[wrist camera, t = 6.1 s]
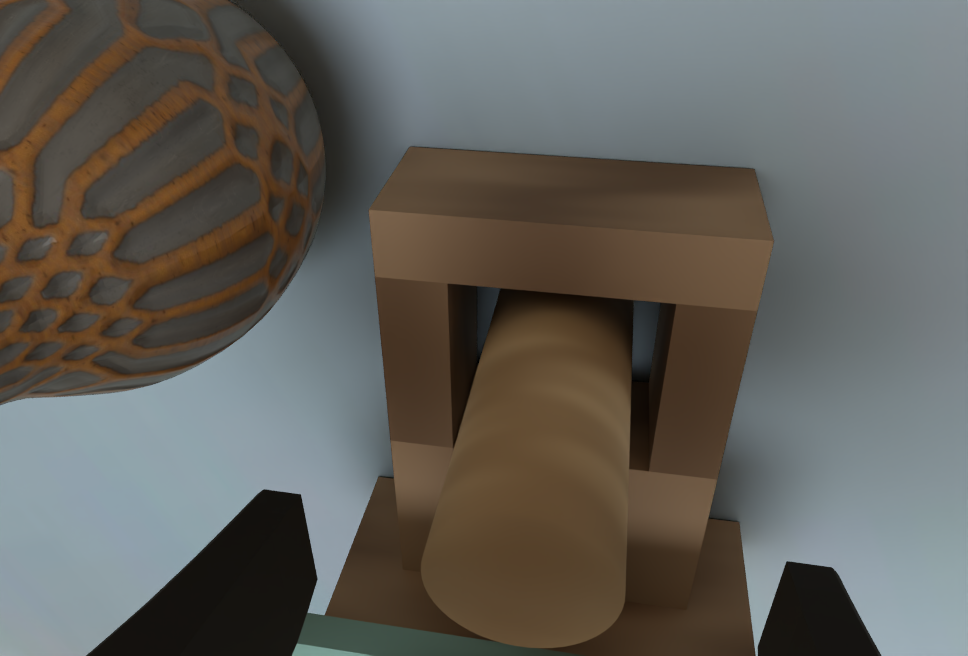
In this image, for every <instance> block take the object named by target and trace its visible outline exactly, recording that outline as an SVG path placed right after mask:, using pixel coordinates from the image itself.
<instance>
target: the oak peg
mask: <svg viewBox="0 0 968 656" xmlns="http://www.w3.org/2000/svg"><path fill="white" fill-rule="evenodd" d="M633 310H634V300H628V299H617V298H605V297H594V296H583V295H572V294H561V293H550V292H538V291H527V290H516V289H505V288H501V289H500V293H499V296H498V299H497V303H496V306H495V310H494V313H493V317H492V320H491V323H490V327H489V330H488V334H487V337H486V341H485V344H484V347H483V351H482V354H481V358H480V361H479V365H478V368H477V371H476V375H475V378H474V382H473V385H472V389H471V392H470V395H469V399H468V402H467V406H466V409H465V413H464V416H463V420H462V423H461V426H460V430H459V433H458V437H457V440H456V444H455V447H454V450H453V454H452V457H451V461H450V464H449V468H448V471H447V474H446V478H445V481H444V485H443V488H442V492H441V495H440V498H439V502H438V505H437V509H436V512H435V516H434V519H433V522H432V526H431V529H430V533H429V536H428V540H427V543H426V546H425V550H424V553H423V557H422V560H421V576H422V581H423V584H424V587H425V589H426V591H427V593H428V595H429V596H430V598H431V599H432V600H433V602H434V603H435V604H436V605H437V607H438V608H439V609H440V610H441V611H442V612H443V613H445V614H446V615H447V616H448V617H449V618H450V619H452V620H453V621H455V622H456V623H457V624H459V625H461V626H462V627H464V628H466V629H468V630H469V631H471V632H474V633H476V634H478V635H480V636H482V637H485V638H488V639H490V640H494V641H497V642H500V643H504V644H509V645H514V646H520V647H527V648H557V647H565V646H570V645H575V644H578V643H582V642H585V641H587V640H590V639H592V638H594V637H596V636H598V635H599V634H601V633H603V632H604V631H606V630H607V629H608V628H609V627H610V626H612V624H613V623H614V622H615V621H616V620H617V619H618V617H619V615H620V613H621V612H622V609H623V606H624V603H625V592H626V557H627V521H628V486H629V451H630V416H631V381H632V346H633Z"/></svg>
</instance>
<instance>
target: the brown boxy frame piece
mask: <svg viewBox="0 0 968 656" xmlns="http://www.w3.org/2000/svg"><path fill="white" fill-rule="evenodd" d="M369 219H370V230H371V241H372V251H373V262H374V272H375V283H376V293H377V304H378V314H379V325H380V335H381V346H382V356H383V367H384V377H385V388H386V398H387V409H388V419H389V430H390V440H391V451H392V461H393V472H394V479H392V478H384V477H378V479H377V482H376V484H375V487H374V490H373V492H372V495H371V497H370V500H369V502H368V505H367V508H366V510H365V513H364V515H363V518H362V520H361V523H360V526H359V528H358V531H357V533H356V536H355V538H354V541H353V544H352V546H351V549H350V551H349V554H348V556H347V559H346V562H345V564H344V567H343V569H342V572H341V574H340V577H339V580H338V582H337V585H336V587H335V590H334V592H333V595H332V598H331V600H330V603H329V605H328V608H327V610H326V613H325V615H318V614H312V613H307V615H306V618H305V621H304V624H303V627H302V630H301V633H300V636H299V639H298V642H297V645H296V647H295V650H294V652H293V654H292V656H756V655H755V647H754V639H753V631H752V622H751V614H750V606H749V598H748V590H747V582H746V573H745V565H744V557H743V549H742V541H741V533H740V524H739V522H732V521H724V520H716V519H709V518H708V517H709V513H710V509H711V504H712V500H713V496H714V492H715V487H716V483H717V479H718V475H719V471H720V466H721V462H722V458H723V454H724V450H725V445H726V441H727V437H728V433H729V429H730V424H731V420H732V416H733V412H734V407H735V403H736V399H737V395H738V391H739V386H740V382H741V378H742V374H743V370H744V365H745V361H746V357H747V353H748V349H749V344H750V340H751V336H752V332H753V327H754V323H755V319H756V315H757V311H758V306H759V302H760V298H761V294H762V290H763V285H764V281H765V277H766V273H767V268H768V264H769V260H770V256H771V252H772V247H773V243H774V239H773V236H772V232H771V228H770V225H769V221H768V217H767V214H766V210H765V206H764V203H763V199H762V195H761V192H760V188H759V184H758V181H757V177H756V173H755V170H754V169H745V168H730V167H714V166H699V165H683V164H668V163H653V162H637V161H622V160H606V159H591V158H575V157H560V156H545V155H529V154H514V153H498V152H483V151H468V150H452V149H437V148H421V147H409V149H408V150H407V152H406V153H405V155H404V156H403V158H402V160H401V161H400V163H399V164H398V166H397V167H396V169H395V170H394V172H393V173H392V175H391V176H390V178H389V179H388V181H387V182H386V184H385V186H384V187H383V189H382V190H381V192H380V193H379V195H378V196H377V198H376V199H375V201H374V202H373V204H372V205H371V207H370V208H369ZM477 286H482V287H494V288H505V289H516V290H527V291H538V292H550V293H561V294H572V295H583V296H594V297H605V298H617V299H628V300H639V301H650V302H661V306H660V313H659V319H658V326H657V332H656V339H655V345H654V352H653V359H652V365H651V372H650V378H649V383H646V382H636V381H631V416H630V451H629V486H628V521H627V557H626V592H625V603H624V606H623V609H622V612H621V613H620V615H619V617H618V619H617V620H616V621H615V622H614V623H613V624H612V626H610V627H609V628H608V629H607V630H606V631H604V632H603V633H601V634H599V635H598V636H596V637H594V638H592V639H590V640H587V641H585V642H582V643H578V644H575V645H570V646H565V647H557V648H527V647H520V646H514V645H509V644H504V643H500V642H497V641H494V640H490V639H488V638H485V637H482V636H480V635H478V634H476V633H474V632H471V631H469V630H468V629H466V628H464V627H462V626H461V625H459V624H457V623H456V622H455V621H453V620H452V619H450V618H449V617H448V616H447V615H446V614H445V613H443V612H442V611H441V610H440V609H439V608H438V607H437V605H436V604H435V603H434V602H433V600H432V599H431V598H430V596H429V595H428V593H427V591H426V589H425V587H424V584H423V581H422V576H421V560H422V557H423V553H424V550H425V546H426V543H427V540H428V536H429V533H430V529H431V526H432V522H433V519H434V516H435V512H436V509H437V505H438V502H439V498H440V495H441V492H442V488H443V485H444V481H445V478H446V474H447V471H448V468H449V464H450V461H451V457H452V454H453V450H454V447H455V444H456V440H457V437H458V433H459V430H460V426H461V423H462V420H463V416H464V413H465V409H466V406H467V402H468V399H469V395H470V392H471V389H472V385H473V382H474V378H475V375H476V371H477V368H478V365H477Z"/></svg>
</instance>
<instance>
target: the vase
mask: <svg viewBox="0 0 968 656" xmlns="http://www.w3.org/2000/svg"><path fill="white" fill-rule="evenodd" d="M325 176H326V158H325V148H324V141H323V136H322V131H321V127H320V122H319V118H318V115H317V112H316V109H315V106H314V103H313V100H312V98H311V95H310V93H309V91H308V89H307V87H306V85H305V83H304V81H303V79H302V77H301V75H300V74H299V72H298V70H297V68H296V67H295V65H294V64H293V62H292V61H291V59H290V58H289V57H288V55H287V54H286V53H285V51H284V50H283V49H282V47H281V46H280V45H279V44H278V43H277V42H276V40H275V39H274V38H273V37H272V36H271V35H270V34H269V33H268V32H267V31H266V30H265V29H264V28H263V27H262V26H261V25H260V24H259V23H258V22H257V21H255V20H254V19H253V18H252V17H251V16H249V15H248V14H247V13H246V12H244V11H243V10H242V9H240V8H239V7H237V6H236V5H234V4H233V3H231V2H230V1H228V0H0V405H2V404H5V403H8V402H12V401H16V400H21V399H25V398H42V397H65V396H81V395H95V394H106V393H115V392H122V391H128V390H132V389H137V388H141V387H145V386H149V385H153V384H156V383H159V382H161V381H164V380H167V379H170V378H172V377H175V376H177V375H179V374H182V373H184V372H186V371H188V370H190V369H192V368H194V367H196V366H198V365H200V364H202V363H203V362H205V361H207V360H208V359H210V358H212V357H213V356H215V355H217V354H218V353H220V352H222V351H223V350H225V349H226V348H227V347H229V346H230V345H231V344H233V343H234V342H236V341H237V340H238V339H240V338H241V337H243V336H244V335H245V334H246V333H247V332H248V331H249V330H250V329H251V328H253V327H254V326H255V325H256V324H257V323H258V322H259V321H260V320H261V319H263V317H264V316H265V315H266V314H267V313H268V312H269V311H270V310H271V308H272V307H273V306H274V305H275V303H276V302H277V301H278V300H279V298H280V297H281V296H282V294H283V293H284V292H285V290H286V289H287V287H288V286H289V284H290V283H291V281H292V280H293V278H294V276H295V275H296V273H297V271H298V270H299V268H300V266H301V264H302V262H303V260H304V259H305V257H306V255H307V253H308V251H309V248H310V246H311V244H312V242H313V239H314V236H315V233H316V230H317V226H318V222H319V219H320V215H321V210H322V206H323V200H324V192H325Z"/></svg>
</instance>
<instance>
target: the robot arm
mask: <svg viewBox="0 0 968 656" xmlns="http://www.w3.org/2000/svg"><path fill="white" fill-rule="evenodd" d="M316 582H317V574H316V569H315V564H314V559H313V554H312V549H311V544H310V539H309V533H308V528H307V523H306V518H305V513H304V508H303V503H302V498H301V494H293V493H286V492H279V491H272V490H262V491H261V492H260V493H258V494H257V495H256V496H255V497H254V498H253V499H252V500H251V501H250V502H249V503H248V504H247V505H246V506H245V507H244V508H243V509H242V510H241V512H240V513H239V514H238V515H237V516H236V517H235V518H234V519H233V520H232V521H231V522H230V523H229V524H228V525H227V526H226V527H225V528H224V529H223V530H222V531H221V532H220V533H219V534H218V535H217V536H216V537H215V538H214V539H213V540H212V541H211V542H210V543H209V544H208V545H207V546H206V547H205V548H204V549H203V550H202V551H201V552H200V553H199V554H198V555H197V556H196V557H195V558H194V559H193V560H192V561H190V562H189V563H188V564H187V565H186V566H185V567H184V568H183V569H182V570H181V571H180V572H179V573H178V574H177V575H176V576H175V577H174V578H173V579H172V580H170V581H169V582H168V583H167V584H166V585H165V586H164V587H163V588H162V589H161V590H160V591H159V592H158V593H157V594H156V595H155V596H154V597H153V598H151V599H150V600H149V601H148V602H147V603H146V604H145V605H144V606H143V607H142V608H141V609H139V610H138V611H137V612H136V613H135V614H134V615H133V616H131V617H130V618H129V619H128V620H127V621H126V622H125V623H123V624H122V625H121V626H120V627H119V628H118V629H116V630H115V631H114V632H113V633H112V634H111V635H110V636H108V637H107V638H106V639H105V640H104V641H103V642H102V643H100V644H99V645H98V646H97V647H96V648H95V649H94V650H92V651H91V652H90V653H89V654H88V655H86V656H292V654H293V652H294V650H295V647H296V645H297V642H298V639H299V636H300V633H301V630H302V627H303V624H304V621H305V618H306V615H307V612H308V609H309V605H310V602H311V599H312V596H313V592H314V589H315V586H316ZM758 656H881V654H880V652H879V651H878V649H877V647H876V645H875V643H874V642H873V640H872V638H871V636H870V634H869V633H868V631H867V629H866V627H865V625H864V623H863V621H862V620H861V618H860V616H859V614H858V612H857V610H856V608H855V606H854V604H853V602H852V601H851V599H850V597H849V595H848V593H847V591H846V589H845V587H844V585H843V583H842V581H841V579H840V577H839V575H838V574H837V572H836V571H835V570H834V569H833V568H832V567H825V566H817V565H810V564H803V563H796V562H788V561H787V562H786V565H785V568H784V571H783V574H782V577H781V580H780V582H779V585H778V588H777V591H776V594H775V597H774V600H773V603H772V606H771V609H770V612H769V615H768V618H767V621H766V624H765V627H764V630H763V633H762V636H761V639H760V642H759V645H758Z"/></svg>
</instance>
